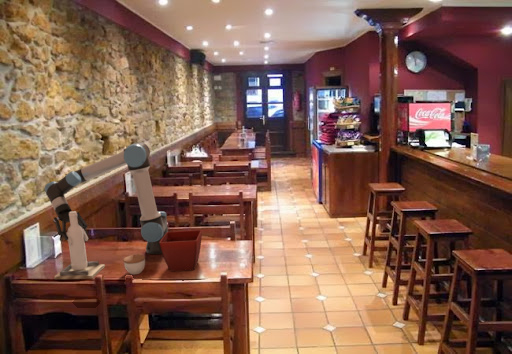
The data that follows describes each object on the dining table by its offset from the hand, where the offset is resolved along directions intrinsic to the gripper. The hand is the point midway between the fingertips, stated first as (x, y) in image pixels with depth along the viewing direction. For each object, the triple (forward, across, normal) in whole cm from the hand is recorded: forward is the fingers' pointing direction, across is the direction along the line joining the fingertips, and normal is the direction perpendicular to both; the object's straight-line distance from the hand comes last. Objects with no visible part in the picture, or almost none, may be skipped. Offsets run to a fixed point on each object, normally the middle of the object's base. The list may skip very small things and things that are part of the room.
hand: (79, 241), depth 245 cm
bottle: (+8, 0, -13) cm, 15 cm away
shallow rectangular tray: (+10, 0, -15) cm, 18 cm away
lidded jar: (+27, -18, +2) cm, 33 cm away
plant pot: (+37, -38, +12) cm, 55 cm away
